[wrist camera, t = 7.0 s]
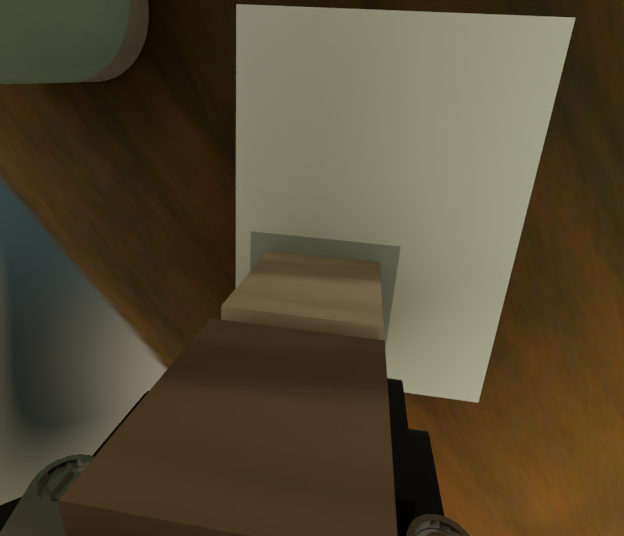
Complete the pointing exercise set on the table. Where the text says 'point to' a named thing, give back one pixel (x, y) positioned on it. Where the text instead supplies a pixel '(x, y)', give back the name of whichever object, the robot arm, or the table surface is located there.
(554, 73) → the build board
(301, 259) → the beech block
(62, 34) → the coffee cup
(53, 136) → the table surface
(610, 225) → the table surface
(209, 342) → the walnut block
